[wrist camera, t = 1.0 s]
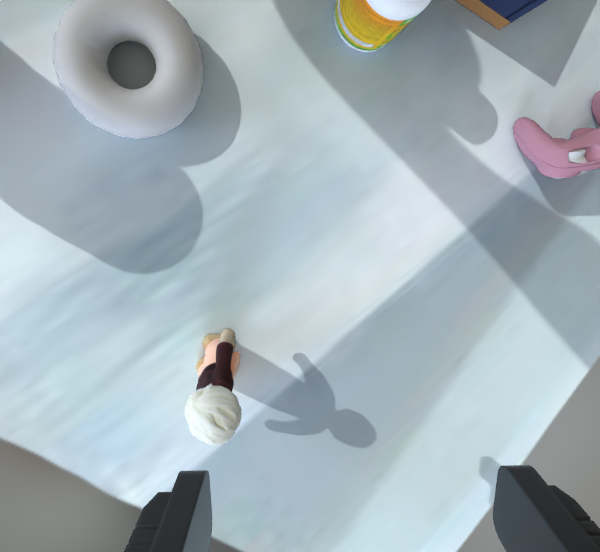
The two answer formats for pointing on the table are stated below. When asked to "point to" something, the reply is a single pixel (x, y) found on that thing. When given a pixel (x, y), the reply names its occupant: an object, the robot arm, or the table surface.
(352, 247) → the table surface
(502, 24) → the navy storage tray
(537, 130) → the video game controller
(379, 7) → the supplement bottle
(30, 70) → the table surface
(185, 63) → the donut
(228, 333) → the grandmother figurine
